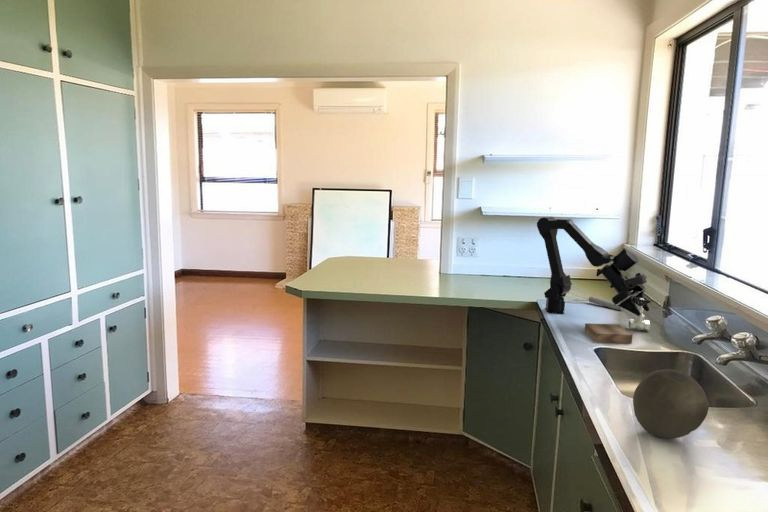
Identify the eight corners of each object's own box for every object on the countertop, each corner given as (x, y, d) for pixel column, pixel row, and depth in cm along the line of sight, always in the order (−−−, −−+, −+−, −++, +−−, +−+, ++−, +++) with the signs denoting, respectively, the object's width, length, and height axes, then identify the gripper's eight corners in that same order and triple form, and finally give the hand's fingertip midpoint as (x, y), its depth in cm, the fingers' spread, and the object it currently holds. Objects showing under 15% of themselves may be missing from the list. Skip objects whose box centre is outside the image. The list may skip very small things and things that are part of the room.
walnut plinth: (595, 342, 182) (596, 333, 182) (584, 331, 194) (585, 323, 194) (631, 343, 182) (632, 334, 181) (618, 332, 194) (618, 324, 193)
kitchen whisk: (623, 313, 220) (625, 298, 219) (552, 297, 246) (553, 284, 245) (630, 311, 224) (632, 296, 223) (559, 295, 250) (560, 282, 249)
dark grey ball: (641, 449, 113) (648, 381, 110) (623, 418, 127) (629, 358, 124) (713, 456, 111) (722, 388, 108) (687, 424, 124) (695, 363, 122)
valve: (650, 333, 193) (654, 301, 191) (631, 331, 195) (634, 300, 193) (645, 328, 200) (649, 297, 198) (626, 326, 201) (629, 295, 199)
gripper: (624, 269, 189) (654, 305, 184) (642, 263, 203) (670, 296, 197) (600, 287, 196) (628, 322, 190) (618, 280, 209) (645, 312, 204)
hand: (644, 312), depth 195 cm, fingers open, 9 cm apart
